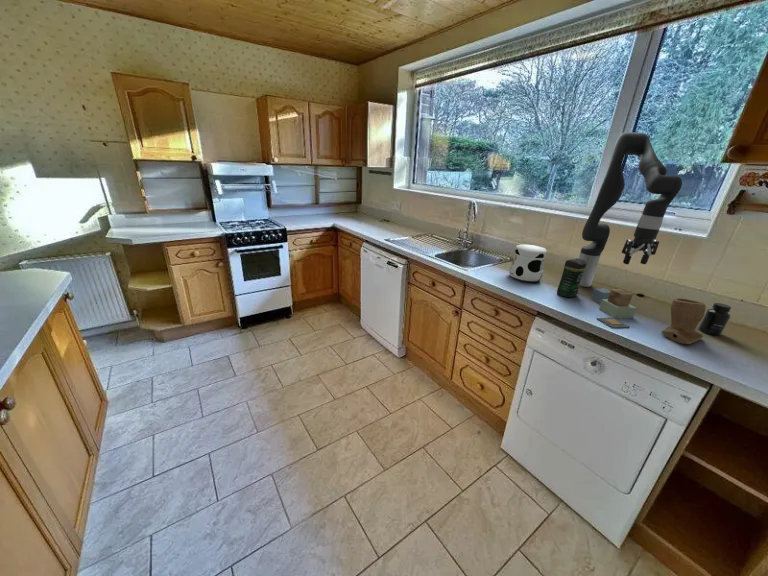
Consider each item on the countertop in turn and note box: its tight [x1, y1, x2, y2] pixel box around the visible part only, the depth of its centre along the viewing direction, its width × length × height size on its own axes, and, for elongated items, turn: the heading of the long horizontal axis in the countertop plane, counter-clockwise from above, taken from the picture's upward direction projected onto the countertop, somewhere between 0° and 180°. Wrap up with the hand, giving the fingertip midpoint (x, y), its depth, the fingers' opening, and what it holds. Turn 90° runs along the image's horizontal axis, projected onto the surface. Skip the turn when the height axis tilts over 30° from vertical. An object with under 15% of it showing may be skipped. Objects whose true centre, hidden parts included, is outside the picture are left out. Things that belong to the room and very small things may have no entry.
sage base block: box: [598, 299, 638, 319], centre depth 141 cm, size 9×9×5 cm
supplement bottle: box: [698, 302, 732, 337], centre depth 127 cm, size 7×7×12 cm
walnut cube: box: [607, 288, 633, 306], centre depth 139 cm, size 6×6×6 cm
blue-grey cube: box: [590, 287, 611, 304], centre depth 153 cm, size 6×6×6 cm
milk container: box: [508, 243, 547, 283], centre depth 175 cm, size 17×17×18 cm
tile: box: [596, 316, 630, 329], centre depth 131 cm, size 8×8×1 cm
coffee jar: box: [556, 257, 586, 299], centre depth 156 cm, size 10×8×19 cm
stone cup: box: [661, 297, 707, 345], centre depth 121 cm, size 15×12×15 cm
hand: (634, 263), depth 138 cm, fingers open, 8 cm apart
